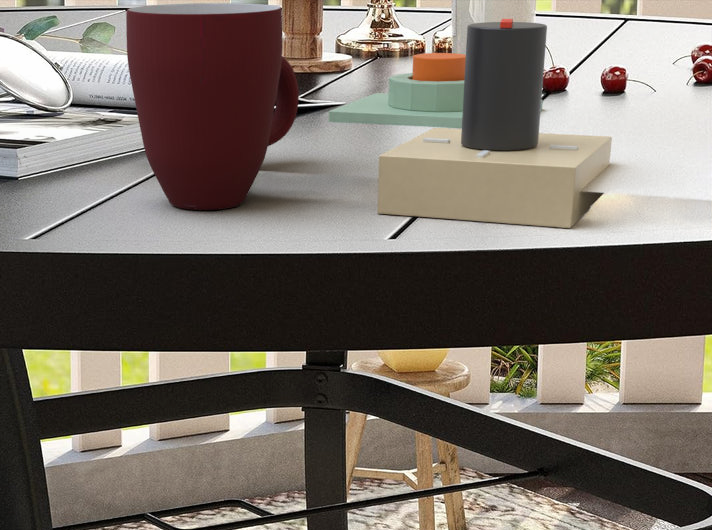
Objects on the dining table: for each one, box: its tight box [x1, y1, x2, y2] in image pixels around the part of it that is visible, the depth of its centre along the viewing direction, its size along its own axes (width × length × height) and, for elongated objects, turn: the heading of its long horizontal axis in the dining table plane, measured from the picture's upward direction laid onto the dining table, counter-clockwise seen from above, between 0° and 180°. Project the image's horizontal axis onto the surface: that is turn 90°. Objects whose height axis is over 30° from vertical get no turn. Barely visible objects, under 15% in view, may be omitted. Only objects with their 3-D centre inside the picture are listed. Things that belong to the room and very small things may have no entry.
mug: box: [125, 2, 300, 211], centre depth 75 cm, size 10×8×10 cm
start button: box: [411, 52, 466, 81], centre depth 93 cm, size 4×4×2 cm
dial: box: [461, 18, 548, 151], centre depth 73 cm, size 4×4×6 cm
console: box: [376, 127, 613, 229], centre depth 74 cm, size 10×10×3 cm
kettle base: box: [328, 72, 544, 129], centre depth 94 cm, size 12×10×4 cm
